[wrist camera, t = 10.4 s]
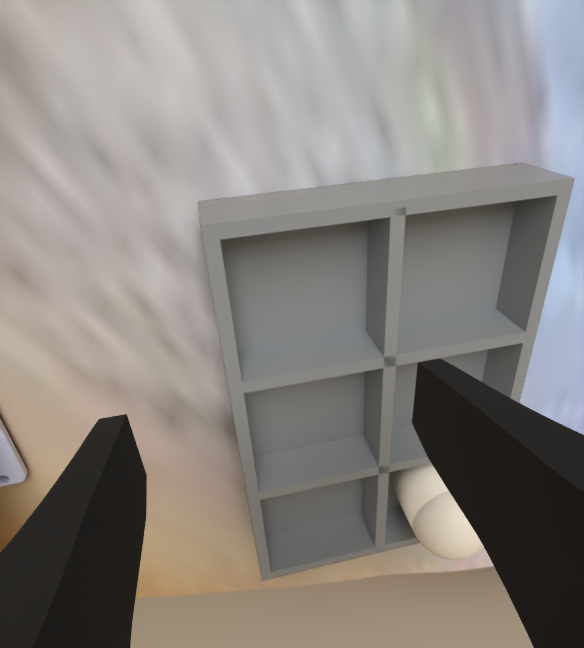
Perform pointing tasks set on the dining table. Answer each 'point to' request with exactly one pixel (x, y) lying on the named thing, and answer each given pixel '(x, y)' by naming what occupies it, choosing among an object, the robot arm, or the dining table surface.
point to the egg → (434, 513)
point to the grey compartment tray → (367, 335)
